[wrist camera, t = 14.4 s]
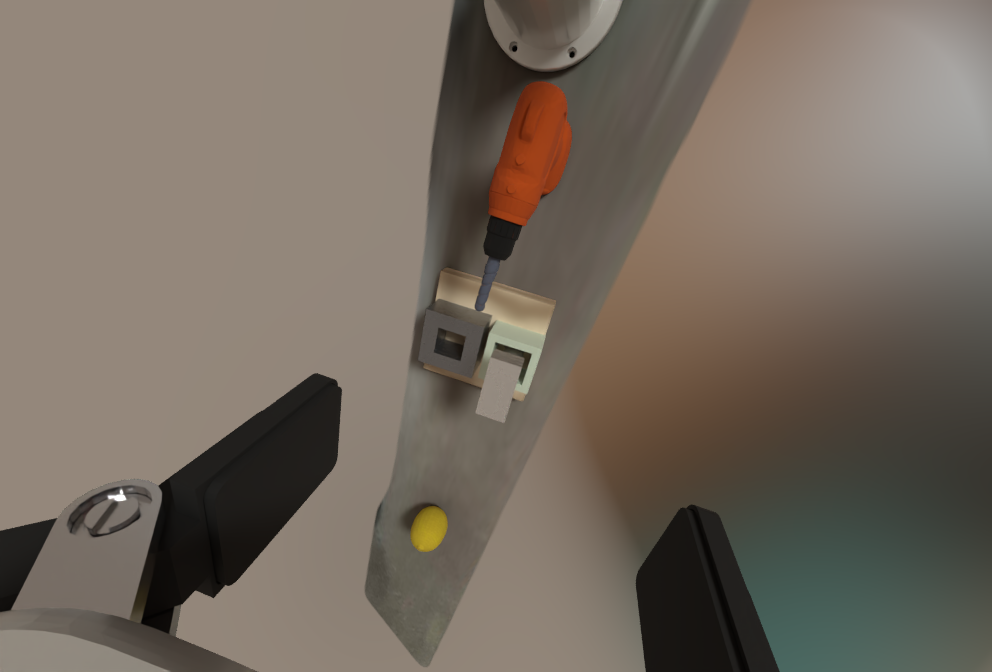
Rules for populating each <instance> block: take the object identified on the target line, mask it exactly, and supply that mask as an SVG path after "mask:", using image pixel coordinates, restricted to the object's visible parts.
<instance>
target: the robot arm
mask: <svg viewBox="0 0 992 672" xmlns="http://www.w3.org/2000/svg"><path fill="white" fill-rule="evenodd" d="M622 1H623V0H484V7H485V12H486V16H487V20H488V24H489V26H490V28H491V31H492V33H493V35H494V37H495V39H496V41H497V42H498V44H499V45H500V47H501V48H502V49H503V50H504V52H505V53H506V54H507V55H508V56H509V57H510V58H511V59H513V60H514V61H515V62H516V63H517V64H519V65H521V66H523V67H525V68H527V69H530V70H535V71H539V72H554V71H558V70H563V69H566V68H568V67H571V66H573V65H575V64H577V63H579V62H580V61H582V60H583V59H584V58H586V57H587V56H588V55H590V54H591V53H592V52H593V51H594V50H595V49H596V48H597V47H598V46H599V45H600V44H601V42H602V41H603V39H604V38H605V37H606V35H607V34H608V32H609V31H610V29H611V27H612V25H613V23H614V22H615V20H616V18H617V16H618V13H619V10H620V7H621V4H622ZM514 47H517V51H516V52H513V48H514ZM572 52H573V53H575V56H574V57H573V58H570V57H569V55H570V53H572ZM341 395H342V389H341V388H340V387H338V383H337V381H336V380H335V379H331V378H329V377H326V376H323V375H320V374H318V373H317V374H313V375H311V376H310V377H308V378H307V379H306V380H304V381H303V382H301V383H300V384H299V385H297V386H296V387H295V388H293V389H292V390H291V391H289V392H288V393H286V394H285V395H284V396H282V397H281V398H280V399H278V400H277V401H276V402H274V403H273V404H272V405H270V406H269V407H267V408H266V409H265V410H263V411H261V412H259V413H257V414H256V415H255V416H253V417H252V418H250V419H249V420H248V421H246V422H245V423H244V424H242V425H241V426H239V427H238V428H237V429H235V430H234V431H233V432H231V433H230V434H229V435H227V436H226V437H225V438H223V439H222V440H220V441H219V442H218V443H216V444H215V445H213V446H212V447H211V448H209V449H208V450H207V451H205V452H204V453H202V454H201V455H200V456H198V457H197V458H196V459H194V460H193V461H192V462H190V463H189V464H187V465H186V466H185V467H183V468H182V469H181V470H179V471H178V472H177V473H175V474H174V475H172V476H171V477H170V478H168V479H167V480H165V481H164V482H163V483H161V484H160V485H159V486H158V485H156V484H154V483H152V482H150V481H147V480H141V479H130V480H121V481H117V482H112V483H108V484H105V485H103V486H100V487H98V488H96V489H93V490H91V491H89V492H87V493H86V494H84V495H82V496H81V497H79V498H77V499H76V500H74V501H73V502H72V503H71V504H70V505H69V506H68V507H66V508H65V509H64V510H63V511H62V513H61V514H60V516H59V517H58V518H56V519H51V520H46V521H42V522H38V523H33V524H29V525H24V526H20V527H15V528H11V529H7V530H3V531H0V672H257V671H255V670H253V669H250V668H248V667H246V666H244V665H241V664H239V663H237V662H235V661H232V660H230V659H227V658H225V657H223V656H220V655H218V654H216V653H213V652H211V651H208V650H206V649H203V648H201V647H199V646H196V645H194V644H191V643H189V642H186V641H184V640H181V639H179V638H177V637H176V631H177V626H178V620H179V615H180V609H181V604H183V603H184V602H185V601H186V599H187V598H189V596H190V595H191V594H192V593H193V592H194V591H195V590H196V591H199V592H201V593H203V594H205V595H208V596H211V597H212V598H214V597H215V596H216V594H218V593H219V592H220V590H221V589H222V588H223V587H224V586H225V585H227V586H230V585H232V584H233V583H235V582H236V581H237V580H238V579H239V578H240V577H241V575H242V574H243V573H244V572H245V571H246V570H247V568H248V567H249V566H250V565H251V564H252V563H253V561H254V560H255V559H256V558H257V557H258V556H259V554H260V553H261V552H262V551H263V550H264V549H265V548H266V546H267V545H268V544H269V543H270V542H271V541H272V539H273V538H274V537H275V536H276V535H277V534H278V532H279V531H280V530H281V529H282V528H283V527H284V525H285V524H286V523H287V522H288V521H289V519H290V518H291V517H292V516H293V515H294V514H295V513H296V511H297V510H298V509H299V508H300V507H301V506H302V504H303V503H304V502H305V501H306V500H307V499H308V497H309V496H310V495H311V494H312V493H313V492H314V491H315V489H316V488H317V487H318V486H319V485H320V483H321V482H322V481H323V480H324V479H325V478H326V476H327V475H328V474H329V473H330V472H331V471H332V469H333V468H334V466H335V464H336V461H337V456H338V441H339V424H340V411H341ZM636 590H637V599H638V608H639V616H640V625H641V634H642V641H643V650H644V660H645V668H646V672H779V669H778V667H777V664H776V661H775V658H774V656H773V653H772V651H771V648H770V645H769V643H768V640H767V638H766V635H765V632H764V630H763V627H762V625H761V622H760V619H759V617H758V614H757V612H756V609H755V606H754V604H753V601H752V598H751V596H750V594H749V592H748V590H747V587H746V585H745V582H744V579H743V577H742V574H741V572H740V569H739V566H738V564H737V561H736V558H735V556H734V553H733V550H732V548H731V545H730V543H729V540H728V537H727V535H726V532H725V530H724V527H723V524H722V522H721V519H720V517H719V515H718V514H717V513H716V512H712V511H710V510H707V509H704V508H701V507H698V506H695V505H689V506H688V507H687V508H681V509H680V510H679V511H678V512H677V514H676V515H675V517H674V518H673V520H672V521H671V523H670V524H669V526H668V527H667V529H666V530H665V532H664V533H663V535H662V536H661V538H660V539H659V541H658V542H657V544H656V545H655V546H654V548H653V549H652V551H651V552H650V554H649V556H648V557H647V558H646V560H645V562H644V563H643V564H642V566H641V567H640V569H639V571H638V574H637V577H636Z"/></svg>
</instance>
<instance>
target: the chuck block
mask: <svg viewBox="0 0 992 672" xmlns="http://www.w3.org/2000/svg"><path fill="white" fill-rule="evenodd" d="M491 319H492V315H490V314H487V313H483V312H479V311H477V310H474V309H471V308H468V307H464V306H461V305H458V304H455V303H452V302H449V301H445V300H442V299H438V300H437V301H435V302H434V303H433V304H432V305H431V306H429V307H428V308H427V309H426V315H425V321H424V327H423V332H422V338H421V344H420V350H419V356H418V361H421V362H424V363H427V364H430V365H433V366H436V367H439V368H442V369H445V370H448V371H451V372H454V373H457V374H460V375H463V376H466V377H468V378H471V379H472V377H473V375H474V373H475V372H476V370H477V368H478V366H479V365H480V362H481V358H482V354H483V350H484V346H485V342H486V339H487V335H488V331H489V327H490V323H491ZM447 331H451V332H454V333H457V334H460V335H463V336H466V339H465V343H464V345H461V344H458V343H455V342H452V341H449V340H446V339H445V338H446V333H447Z"/></svg>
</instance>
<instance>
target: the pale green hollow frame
mask: <svg viewBox="0 0 992 672" xmlns="http://www.w3.org/2000/svg"><path fill="white" fill-rule="evenodd" d="M545 337H546V335H543V334H540V333H536V332H533V331H530V330H527V329H524V328H521V327H517V326H514V325H511V324H508V323H505V322H502V321H498V320H497V321H496V323H495V324H494V326H493V328H492V329H491V331H490V332H489V336H488V340H487V344H486V348H485V351H484V355H483V359H482V363H481V367H480V371H479V375H478V378H480V379H483V380H484V379H485V376H486V372H487V368H488V364H489V361H490V357H491V355H492V353H493V351H494V349H497V346H498V343H500V344H503V345H506V346H509V347H512V348H515V349H519V350H522V351H525V352H528V353H531V354H532V355H531V358H530V362H529V365H528V368H527V369H523V368H522V369H521V372H520V375H519V378H518V382H517V385H516V388H515V390H516V391H519V392H522V393H525V394H527V393H528V390H529V387H530V384H531V381H532V378H533V375H534V372H535V369H536V366H537V363H538V360H539V357H540V355H541V352H542V348H543V344H544V341H545Z"/></svg>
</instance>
